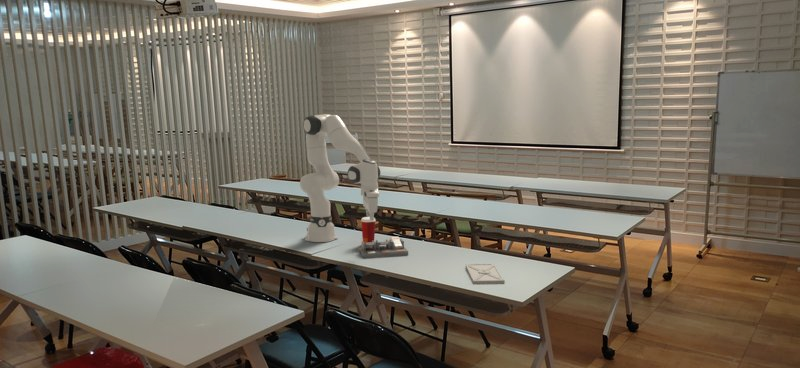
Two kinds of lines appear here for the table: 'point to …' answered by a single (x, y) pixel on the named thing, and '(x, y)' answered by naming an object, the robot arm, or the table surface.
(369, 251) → the switch panel
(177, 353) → the table surface
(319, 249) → the table surface
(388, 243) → the rocker
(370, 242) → the rocker
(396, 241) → the rocker
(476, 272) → the envelope
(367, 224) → the coffee cup
